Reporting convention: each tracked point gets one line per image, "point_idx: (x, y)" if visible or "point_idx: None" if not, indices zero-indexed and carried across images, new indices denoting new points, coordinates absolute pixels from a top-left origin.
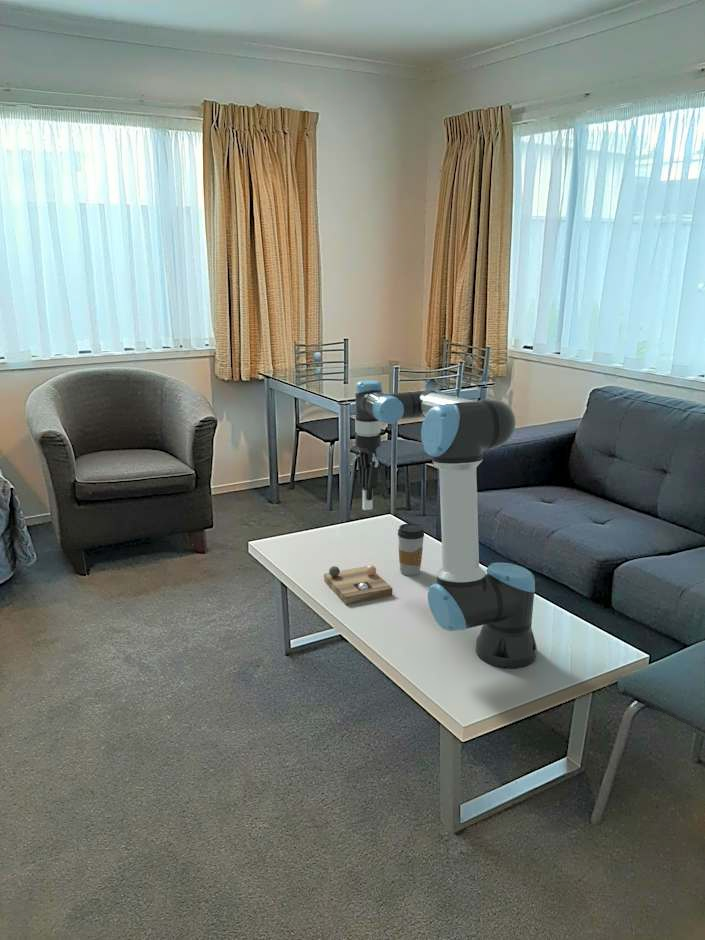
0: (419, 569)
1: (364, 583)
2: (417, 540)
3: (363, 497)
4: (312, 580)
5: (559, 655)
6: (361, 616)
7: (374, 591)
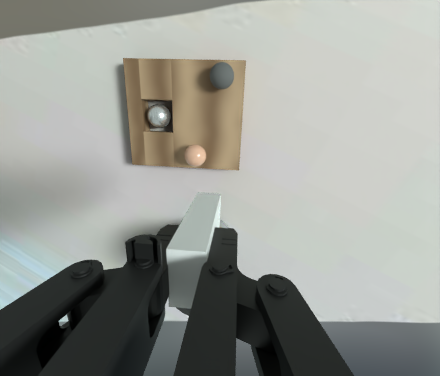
0: None
1: (154, 119)
2: None
3: (197, 218)
4: (260, 40)
5: None
6: (81, 72)
7: (129, 126)
